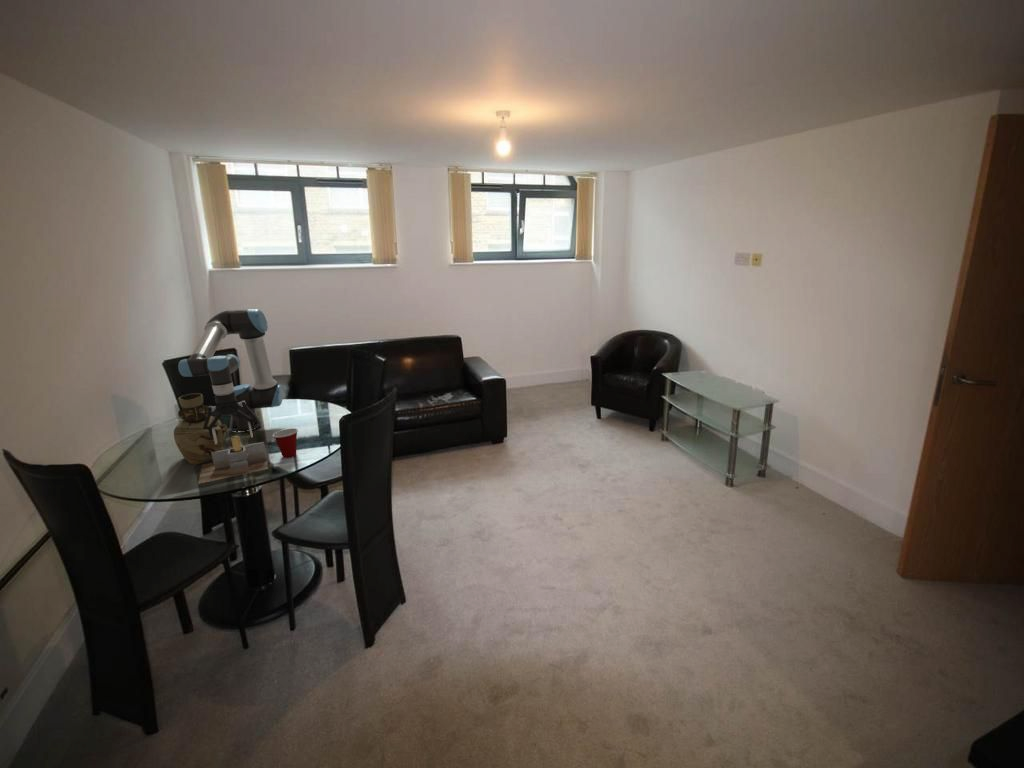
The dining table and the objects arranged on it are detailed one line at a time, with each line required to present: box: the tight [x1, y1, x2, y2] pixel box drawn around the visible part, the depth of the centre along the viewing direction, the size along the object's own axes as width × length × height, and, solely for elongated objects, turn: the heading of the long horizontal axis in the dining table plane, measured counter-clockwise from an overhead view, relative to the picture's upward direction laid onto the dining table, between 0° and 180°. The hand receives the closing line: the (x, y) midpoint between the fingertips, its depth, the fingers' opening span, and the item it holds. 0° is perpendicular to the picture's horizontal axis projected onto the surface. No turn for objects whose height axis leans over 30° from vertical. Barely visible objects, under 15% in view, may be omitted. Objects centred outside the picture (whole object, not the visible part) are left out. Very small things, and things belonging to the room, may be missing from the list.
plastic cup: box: [271, 427, 298, 459], centre depth 225 cm, size 11×11×12 cm
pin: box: [230, 434, 242, 461], centre depth 212 cm, size 3×3×14 cm
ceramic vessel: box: [173, 392, 229, 465], centre depth 223 cm, size 19×21×30 cm
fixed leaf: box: [230, 441, 268, 471], centre depth 215 cm, size 7×14×8 cm, turn 118°
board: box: [197, 451, 269, 485], centre depth 214 cm, size 20×26×1 cm
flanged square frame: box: [211, 445, 248, 469], centre depth 212 cm, size 7×13×8 cm, turn 118°
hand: (234, 439), depth 210 cm, fingers open, 13 cm apart
